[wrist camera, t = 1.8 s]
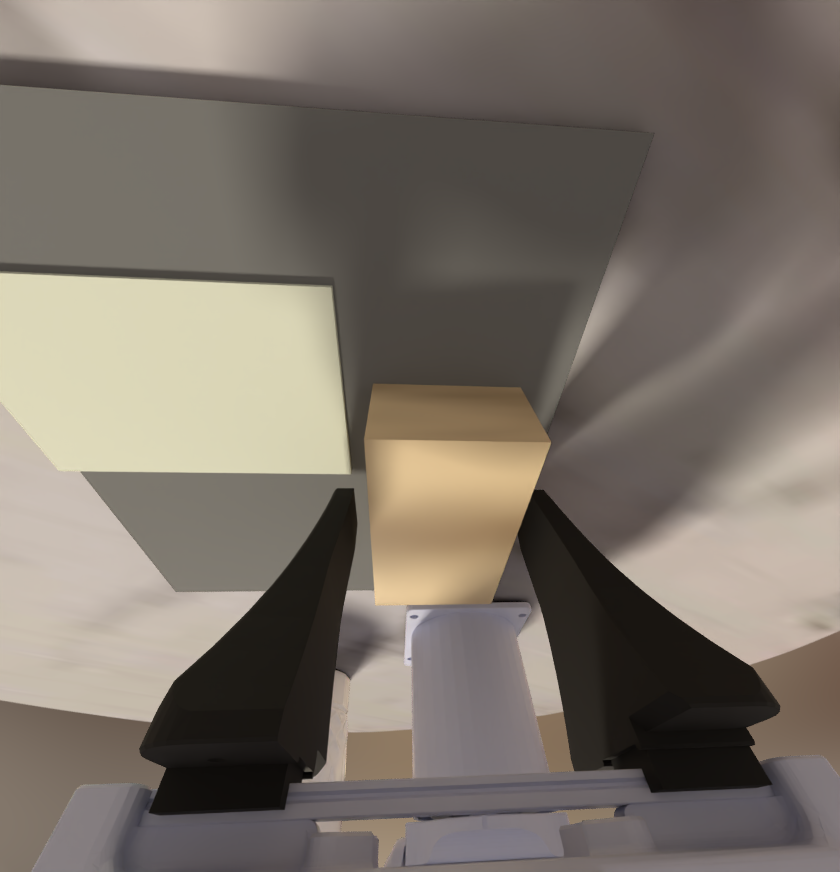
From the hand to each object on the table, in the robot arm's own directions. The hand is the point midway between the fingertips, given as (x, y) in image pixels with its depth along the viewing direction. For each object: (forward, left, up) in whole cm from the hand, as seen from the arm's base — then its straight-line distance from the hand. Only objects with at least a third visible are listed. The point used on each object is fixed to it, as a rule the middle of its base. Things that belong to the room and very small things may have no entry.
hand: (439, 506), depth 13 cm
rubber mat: (+1, +5, -2) cm, 5 cm away
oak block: (0, 0, -1) cm, 1 cm away
